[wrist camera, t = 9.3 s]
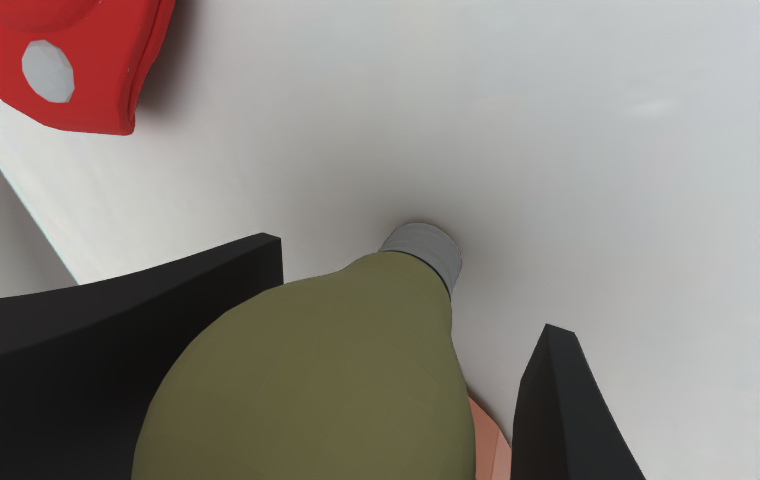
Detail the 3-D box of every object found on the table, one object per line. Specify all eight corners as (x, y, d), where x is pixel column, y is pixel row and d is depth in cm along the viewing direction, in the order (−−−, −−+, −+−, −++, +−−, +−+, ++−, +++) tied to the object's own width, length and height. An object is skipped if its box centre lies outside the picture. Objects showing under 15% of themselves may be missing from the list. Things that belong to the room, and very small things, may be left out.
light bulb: (337, 271, 15) (71, 578, 7) (371, 134, 11) (-62, 416, 4) (474, 339, 14) (351, 792, 6) (554, 210, 10) (521, 837, 3)
